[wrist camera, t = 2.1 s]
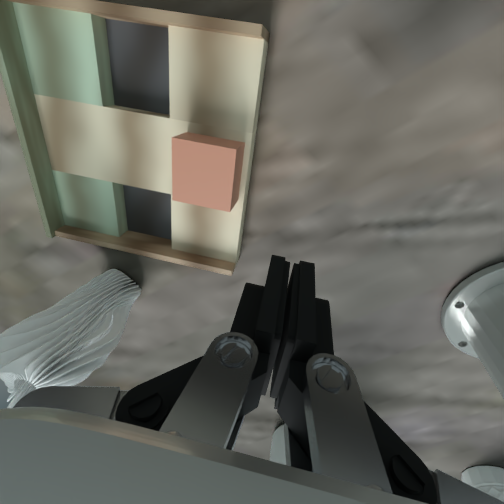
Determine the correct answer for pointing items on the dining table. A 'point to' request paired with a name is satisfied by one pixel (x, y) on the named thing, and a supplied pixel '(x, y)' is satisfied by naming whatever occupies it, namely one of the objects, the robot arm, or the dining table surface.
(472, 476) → the white cup
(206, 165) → the block
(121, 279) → the shell sculpture
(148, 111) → the box
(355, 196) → the dining table surface
